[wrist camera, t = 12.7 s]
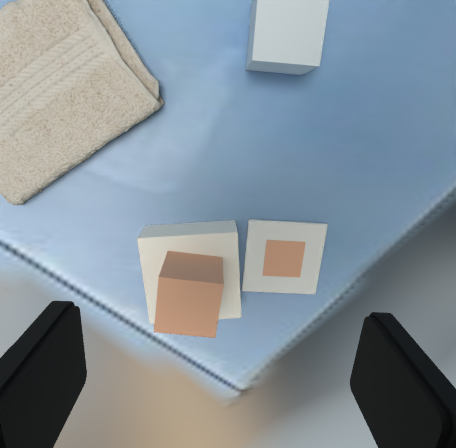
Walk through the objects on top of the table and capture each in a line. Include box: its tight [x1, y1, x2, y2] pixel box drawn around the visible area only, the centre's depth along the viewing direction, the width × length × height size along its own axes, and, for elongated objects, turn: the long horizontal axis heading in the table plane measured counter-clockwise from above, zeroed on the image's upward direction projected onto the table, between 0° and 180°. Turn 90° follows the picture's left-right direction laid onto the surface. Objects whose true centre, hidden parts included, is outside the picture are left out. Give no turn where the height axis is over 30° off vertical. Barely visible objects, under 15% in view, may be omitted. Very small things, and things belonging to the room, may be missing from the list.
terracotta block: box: [154, 251, 224, 338], centre depth 27 cm, size 5×5×5 cm
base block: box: [137, 220, 241, 324], centre depth 32 cm, size 9×9×4 cm
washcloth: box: [0, 0, 165, 205], centre depth 27 cm, size 12×18×3 cm, turn 123°
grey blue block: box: [246, 0, 329, 75], centre depth 25 cm, size 5×5×5 cm
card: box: [242, 219, 328, 294], centre depth 33 cm, size 8×8×1 cm
